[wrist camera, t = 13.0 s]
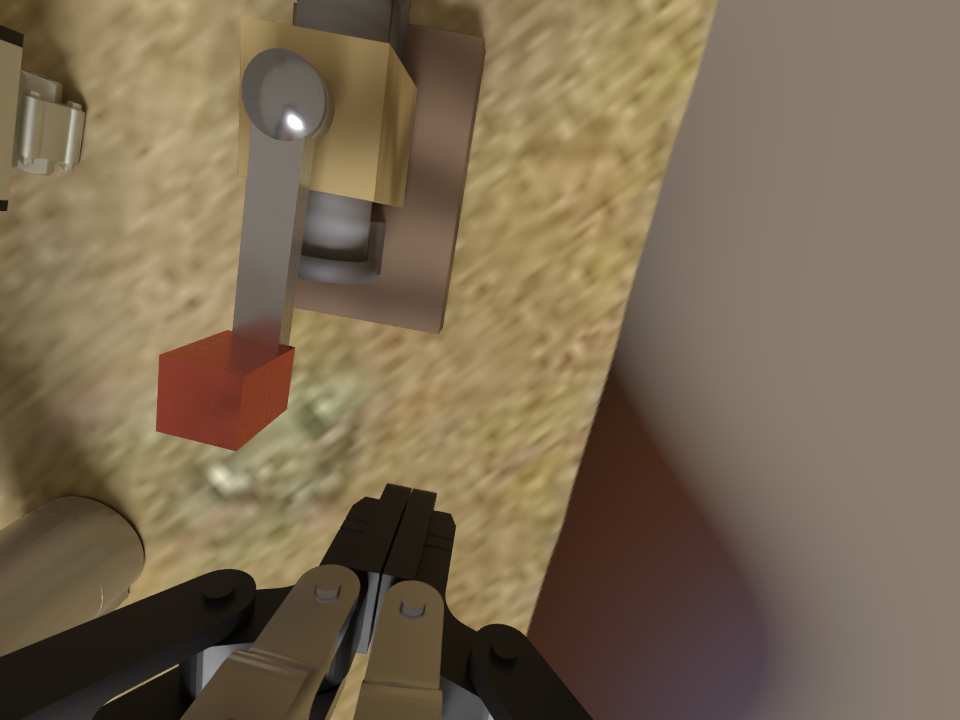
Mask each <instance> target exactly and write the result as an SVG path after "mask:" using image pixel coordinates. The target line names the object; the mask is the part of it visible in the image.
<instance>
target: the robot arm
mask: <svg viewBox="0 0 960 720" xmlns="http://www.w3.org/2000/svg"><path fill="white" fill-rule="evenodd" d="M411 491H412V493H411ZM436 497H437V493H434V492H429V491H424V490H419V489H415V488H413V490H412V488H409V487H404V486H399V485H394V484H389V483H387V485H386V487H385V489H384V491H383V493H382V495H381V498H380V499H375V498H370V497H364V498H363V499H361V500H360V501H359V502H357V503H356V504H354V505H353V506H352V508H351V509H350V511H349V513H348V515H347V517H346V519H345V520H344V522H343V524H342V526H341V527H340V530H339V531H338V533H337V535H336V536H335V538H334V540H333V542H332V543H331V545H330V547H329V549H328V551H327V552H326V554H325V556H324V558H323V560H322V561H321V563H320V565H319V566H318V567H315V568H313V569H310V570H309V571H307V572H306V573H305V574H303V575H302V576H301V577H300V579H299V580H298V581H297V583H296V584H295V585H292V586H289V587H284V588H274V589H259V590H256V584H255V581H254V579H253V578H252V577H251V576H250V575H249V574H247V573H246V572H243V571H240V570H235V569H223V570H217V571H213V572H210V573H207V574H204V575H202V576H199V577H197V578H194V579H192V580H189V581H187V582H184V583H182V584H179V585H177V586H175V587H172V588H170V589H167V590H165V591H162V592H160V593H157V594H155V595H152V596H150V597H147V598H145V599H142V600H140V601H137V602H135V603H132V604H130V605H127V606H125V607H123V608H120V609H118V610H115V609H116V608H117V607H118V606H119V605H120V604H121V603H122V602H123V601H124V600H125V599H126V598H127V597H128V588H129V586H130V585H131V584H132V583H133V582H134V581H135V580H136V579H137V578H138V577H139V575H140V573H141V571H142V568H143V563H144V552H143V549H142V545H141V542H140V540H139V538H138V536H137V534H136V532H135V531H134V529H133V528H132V527H131V525H130V524H129V523H128V522H127V521H126V520H125V519H124V518H123V517H122V516H121V515H120V514H118V513H117V512H116V511H114V510H112V509H111V508H109V507H108V506H106V505H104V504H102V503H99V502H97V501H95V500H91V499H87V498H84V497H74V496H68V497H59V498H56V499H53V500H51V501H48V502H47V503H45V504H43V505H42V506H40V507H38V508H37V509H35V510H33V511H32V512H30V513H28V514H27V515H25V516H23V517H22V518H20V519H18V520H17V521H15V522H13V523H12V524H10V525H8V526H7V527H5V528H3V529H2V530H0V720H330V718H331V716H332V714H333V712H334V709H335V707H336V705H337V702H338V700H339V698H340V695H341V693H342V691H343V689H344V686H345V683H346V676H347V674H348V672H349V670H350V667H351V665H352V662H353V659H354V656H355V653H356V652H357V653H362V654H367V651H368V648H369V645H370V641H371V638H372V641H371V647H370V653H369V655H370V657H369V661H368V666H367V670H366V674H365V678H364V680H363V681H362V685H361V689H360V693H359V697H358V701H357V706H356V710H355V714H354V718H353V720H593V719H592V718H591V716H590V715H589V714H588V713H587V712H586V710H585V709H584V708H583V707H582V705H581V704H580V703H579V702H578V700H577V699H576V698H575V697H574V695H573V694H572V693H571V692H570V690H569V689H568V688H567V687H566V685H564V683H563V682H562V681H561V679H560V678H559V677H558V676H557V674H556V673H555V672H554V671H553V670H552V668H551V667H550V666H549V665H548V663H547V662H546V661H545V659H544V658H543V657H542V656H541V654H540V653H539V652H538V651H537V650H536V649H535V647H534V646H533V645H532V643H531V642H530V641H529V640H528V639H527V637H526V636H525V635H524V634H522V633H521V632H520V631H518V630H517V629H515V628H513V627H511V626H508V625H504V624H490V625H487V626H484V627H483V628H481V629H480V630H479V631H475V630H473V629H471V628H470V627H468V626H466V625H464V624H463V623H461V622H460V621H458V620H457V619H456V618H455V617H454V616H453V615H452V613H451V612H450V610H449V608H448V606H447V604H446V599H445V592H446V586H447V580H448V573H449V567H450V561H451V554H452V548H453V541H454V536H455V529H456V525H455V523H454V520H453V518H452V516H451V514H449V513H444V512H439V511H434V507H435V502H436ZM114 610H115V611H114ZM177 664H179V666H178V667H176V668H174V669H172V670H171V671H169V672H167V673H165V674H163V675H161V676H159V677H157V678H155V679H153V680H151V681H150V682H148V683H146V684H144V685H142V686H140V687H138V688H136V689H134V690H132V691H130V692H129V693H127V694H125V695H123V696H121V697H119V698H117V699H115V700H113V701H111V702H109V703H108V704H106V705H104V704H105V703H107V702H108V701H109V700H111V699H112V698H114V697H115V696H117V695H119V694H121V693H123V692H125V691H127V690H129V689H131V688H132V687H134V686H136V685H138V684H140V683H142V682H144V681H146V680H148V679H150V678H152V677H154V676H156V675H157V674H159V673H161V672H163V671H165V670H167V669H169V668H171V667H173V666H175V665H177ZM103 705H104V706H103Z"/></svg>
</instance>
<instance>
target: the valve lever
mask: <svg viewBox="0 0 960 720" xmlns="http://www.w3.org/2000/svg"><path fill="white" fill-rule="evenodd" d="M241 93H242V100H243V104H244V108H245V110H246V112H247V115H248V116H249V118H250V120H251V121H252V126H251V137H250V148H249V158H248V169H247V180H246V191H245V202H244V212H243V223H242V234H241V245H240V256H239V266H238V277H237V288H236V299H235V310H234V320H233V331H229V330H226V331H224V332H221V333H218V334H215V335H213V336H210V337H207V338H205V339H202V340H199V341H196V342H194V343H191V344H188V345H185V346H183V347H180V348H177V349H174V350H172V351H169V352H166V353H163V354H161V355H159V375H158V398H157V420H156V431H157V432H161V433H165V434H169V435H173V436H178V437H182V438H186V439H190V440H194V441H198V442H202V443H206V444H210V445H214V446H218V447H222V448H226V449H230V450H234V451H237V450H238V449H239V448H241V447H242V446H243V445H244V444H245V443H247V442H248V441H249V440H250V439H251V438H253V437H254V436H255V435H256V434H258V433H259V432H260V431H261V430H262V429H264V428H265V427H266V426H267V425H268V424H270V423H271V422H272V421H273V420H274V419H276V418H277V417H278V416H279V415H280V414H282V413H283V412H284V411H285V410H286V409H287V404H288V396H289V389H290V382H291V374H292V367H293V360H294V352H295V347H292V346H289V340H290V332H291V324H292V317H293V309H294V302H295V294H296V286H297V279H298V271H299V264H300V256H301V248H302V241H303V233H304V226H305V218H306V210H307V203H308V195H309V188H310V180H311V172H312V165H313V157H314V150H315V143H317V142H318V141H320V140H321V139H322V138H323V137H324V136H325V135H326V134H327V132H328V131H329V129H330V127H331V125H332V122H333V118H334V112H335V103H334V97H333V94H332V91H331V88H330V86H329V84H328V82H327V80H326V79H325V78H324V76H323V75H322V74H321V73H320V72H319V71H318V70H317V69H316V68H315V67H313V66H312V65H311V64H310V63H309V62H308V61H306V60H305V59H304V58H303V57H301V56H300V55H299V54H297V53H295V52H293V51H291V50H288V49H283V48H272V49H268V50H265V51H263V52H260V53H259V54H258V55H256V56H255V57H254V58H253V59H252V60H251V61H250V63H249V64H248V66H247V67H246V69H245V72H244V75H243V78H242V85H241Z"/></svg>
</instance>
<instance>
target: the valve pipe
mask: <svg viewBox="0 0 960 720" xmlns="http://www.w3.org/2000/svg"><path fill="white" fill-rule="evenodd" d="M409 10H410V0H297V3H294V12H293V26H292V25H286V24H281V23H275V22H270V21H265V20H259V19H254V18H248V17H243V16H241V48H240V103H239V158H238V176H240V177H245V178H247V169H248V158H249V148H250V137H251V126H252V121H251V120H250V118H249V116H248V115H247V112H246V110H245V108H244V104H243V100H242V93H241V85H242V78H243V75H244V72H245V69H246V67H247V66H248V64H249V63H250V61H251V60H252V59H253V58H254V57H255V56H256V55H258V54H259V53H260V52H263V51H265V50H268V49H272V48H283V49H288V50H291V51H293V52H295V53H297V54H299V55H300V56H301V57H303V58H304V59H305V60H306V61H308V62H309V63H310V64H311V65H312V66H313V67H315V68H316V69H317V70H318V71H319V72H320V73H321V74H322V75H323V76H324V78H325V79H326V80H327V82H328V84H329V86H330V88H331V91H332V94H333V97H334V103H335V112H334V118H333V122H332V125H331V127H330V129H329V131H328V132H327V134H326V135H325V136H324V137H323V138H322V139H321V140H320V141H318V142H317V143H315V150H314V157H313V165H312V172H311V180H310V188H309V195H308V203H307V210H306V218H305V226H304V233H303V241H302V248H301V256H300V264H299V271H298V279H297V286H296V294H295V302H294V308H299V309H304V310H310V311H315V312H321V313H326V314H331V315H337V316H342V317H348V318H353V319H359V320H364V321H370V322H375V323H381V324H386V325H391V326H397V327H402V328H408V329H413V330H419V331H424V332H430V333H435V334H439V333H440V331H441V329H442V328H443V323H444V316H445V310H446V303H447V297H448V290H449V284H450V278H451V271H452V265H453V258H454V252H455V245H456V239H457V232H458V226H459V220H460V213H461V207H462V200H463V194H464V187H465V181H466V175H467V168H468V162H469V155H470V149H471V142H472V136H473V129H474V123H475V117H476V110H477V104H478V97H479V91H480V84H481V78H482V72H483V65H484V59H485V43H484V38H483V37H477V36H472V35H466V34H461V33H456V32H450V31H445V30H439V29H434V28H428V27H423V26H418V25H412V24H408V19H409Z"/></svg>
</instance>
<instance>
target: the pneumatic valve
mask: <svg viewBox="0 0 960 720" xmlns="http://www.w3.org/2000/svg"><path fill="white" fill-rule="evenodd" d="M23 38H24V35H23V34H21V33H19V32H16V31H14V30H12V29H10V28H7V27H5V26H3V25H0V211H7V208H8V197H9V187H10V176H11V167H12V168H15V169H18V170H22V171H25V172H29V173H34V174H39V175H51V174H52V173H53V169H54V161H60V166H61V167H63V169H64V170H67V171H70V169H74V165H78V164H79V157H80V149H81V142H82V135H83V127H84V120H85V112H84V111H82V105H80V104H78V103H75V102H72V101H68V104H64V103H62V95H63V86H62V85H61V83H59V82H57V81H54V80H52V79H50V78H47V77H45V76H42V75H40V74H37V73H34V72H32V71H29V70H26V69H24V68H21V59H22V49H23Z"/></svg>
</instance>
